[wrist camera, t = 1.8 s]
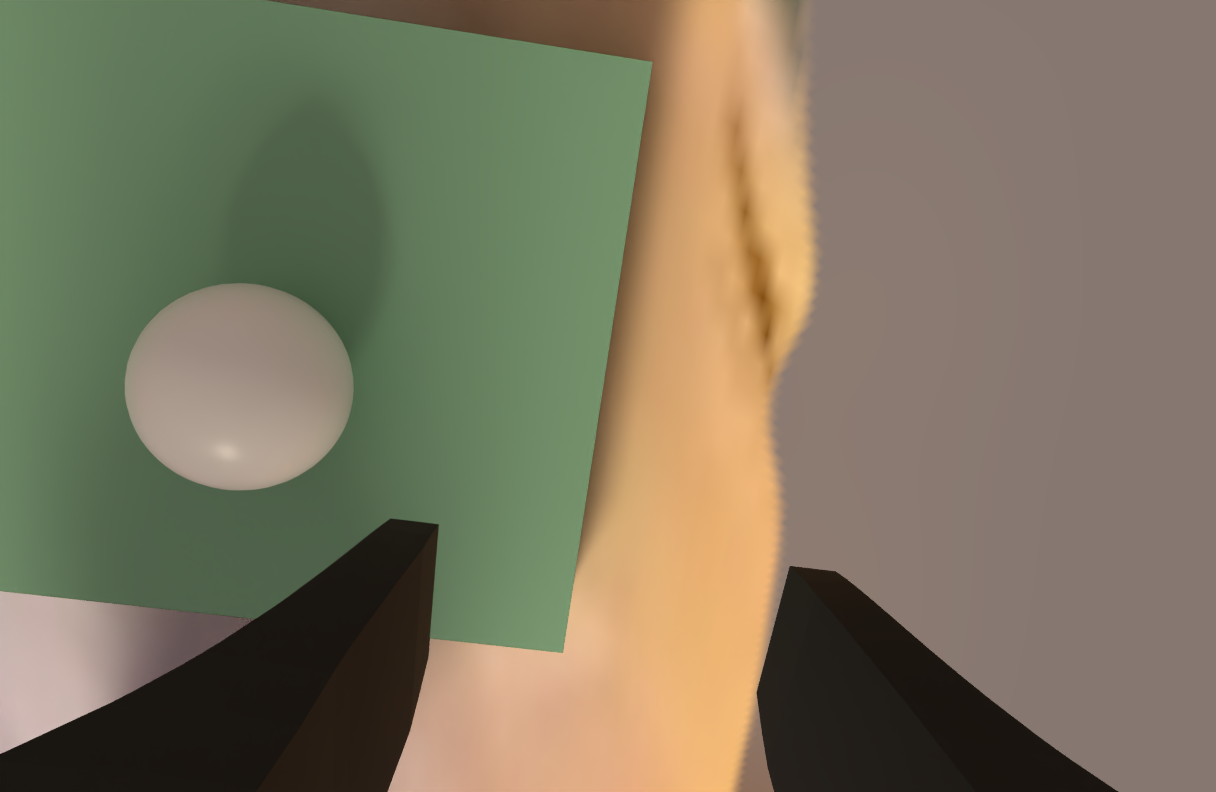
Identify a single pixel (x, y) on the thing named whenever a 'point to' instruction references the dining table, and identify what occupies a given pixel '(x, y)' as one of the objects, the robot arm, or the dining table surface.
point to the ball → (239, 386)
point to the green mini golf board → (310, 293)
